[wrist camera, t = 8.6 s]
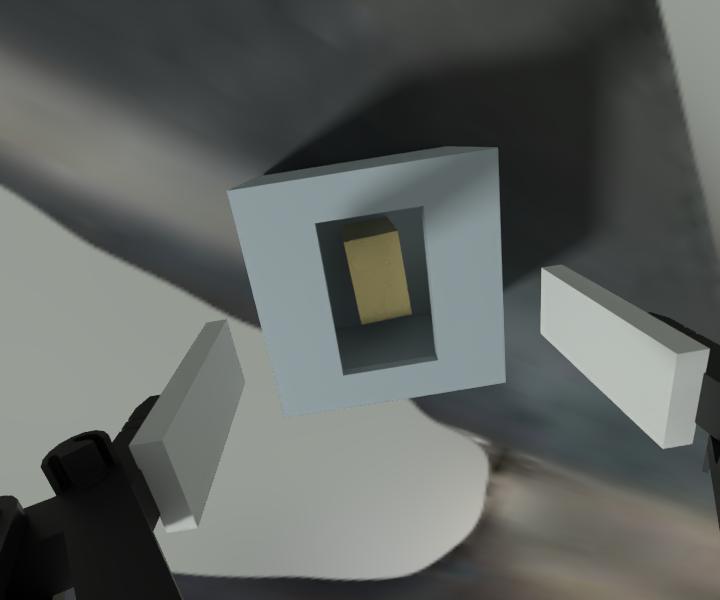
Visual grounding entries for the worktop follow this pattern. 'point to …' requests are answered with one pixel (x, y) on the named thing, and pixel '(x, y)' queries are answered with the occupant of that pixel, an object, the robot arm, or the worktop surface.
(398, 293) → the block
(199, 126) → the worktop surface
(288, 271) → the grey square hollow box
